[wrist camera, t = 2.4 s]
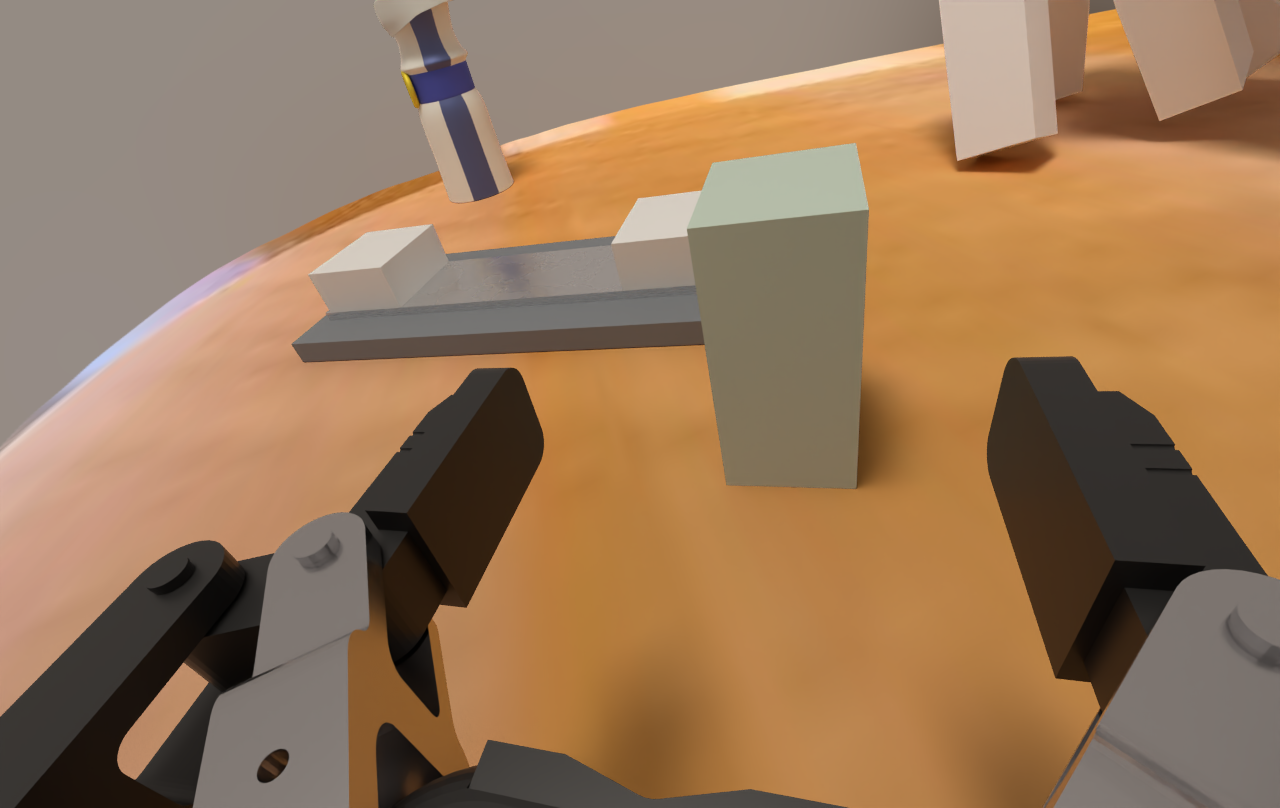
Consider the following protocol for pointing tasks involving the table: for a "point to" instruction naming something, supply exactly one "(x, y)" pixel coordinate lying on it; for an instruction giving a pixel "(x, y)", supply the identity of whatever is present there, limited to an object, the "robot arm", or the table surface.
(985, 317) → the table surface
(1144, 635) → the robot arm
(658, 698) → the table surface
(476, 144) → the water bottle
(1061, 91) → the white angular blocks
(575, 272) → the mounting plate
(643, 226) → the rectangular blocks
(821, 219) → the tall block
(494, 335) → the grey board
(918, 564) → the table surface
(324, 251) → the table surface
